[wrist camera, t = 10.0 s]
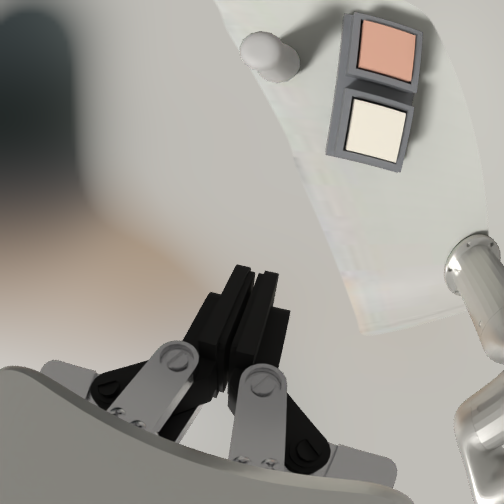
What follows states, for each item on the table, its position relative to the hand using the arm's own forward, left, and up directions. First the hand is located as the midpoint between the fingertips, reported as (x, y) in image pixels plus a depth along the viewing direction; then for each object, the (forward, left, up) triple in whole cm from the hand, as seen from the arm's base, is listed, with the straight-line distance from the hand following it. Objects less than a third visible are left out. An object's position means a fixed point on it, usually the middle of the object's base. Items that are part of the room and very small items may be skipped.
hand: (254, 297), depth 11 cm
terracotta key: (+5, -17, -27) cm, 32 cm away
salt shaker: (+12, -5, -31) cm, 34 cm away
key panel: (+2, -13, -31) cm, 34 cm away
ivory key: (-1, -9, -27) cm, 29 cm away
